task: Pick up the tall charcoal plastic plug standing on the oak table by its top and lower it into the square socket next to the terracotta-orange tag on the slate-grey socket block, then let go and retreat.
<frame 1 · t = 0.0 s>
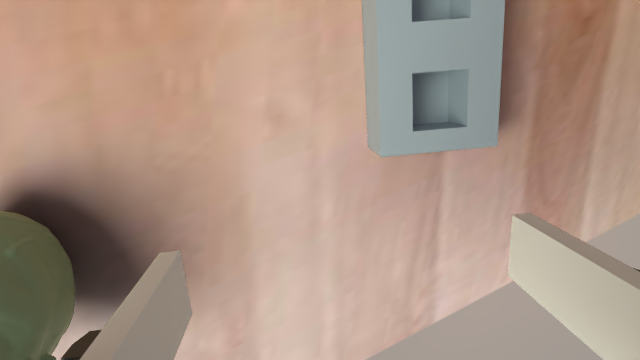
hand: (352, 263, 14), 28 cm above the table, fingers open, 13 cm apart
socket block: (418, 51, 40), on the table
cabbage: (35, 254, 42), on the table
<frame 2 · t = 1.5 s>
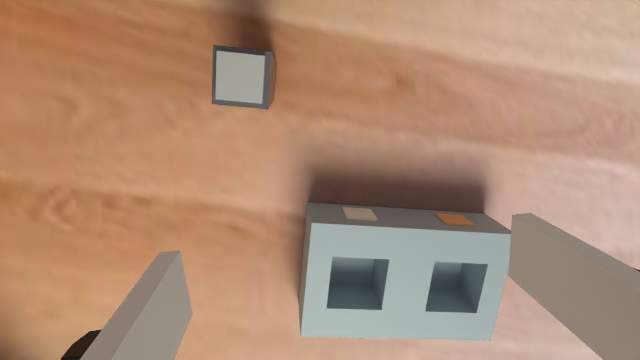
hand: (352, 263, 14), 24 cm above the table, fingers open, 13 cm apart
socket block: (390, 257, 41), on the table
plug: (256, 79, 35), on the table
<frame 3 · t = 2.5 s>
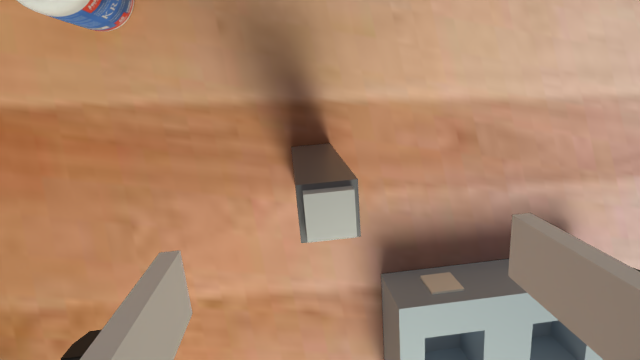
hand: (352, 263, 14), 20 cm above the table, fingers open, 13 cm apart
socket block: (474, 313, 39), on the table
plug: (312, 163, 33), on the table
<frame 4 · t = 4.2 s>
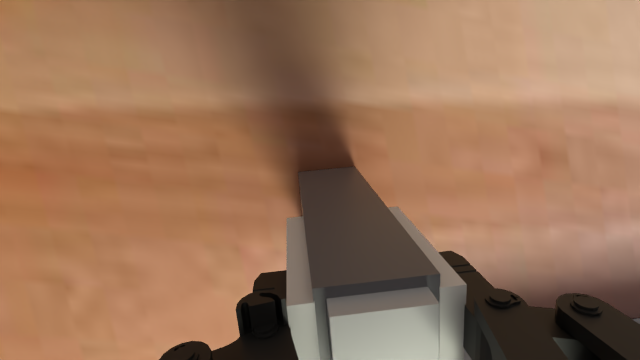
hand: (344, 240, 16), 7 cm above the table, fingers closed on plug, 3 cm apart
plug: (328, 196, 23), on the table, touching gripper
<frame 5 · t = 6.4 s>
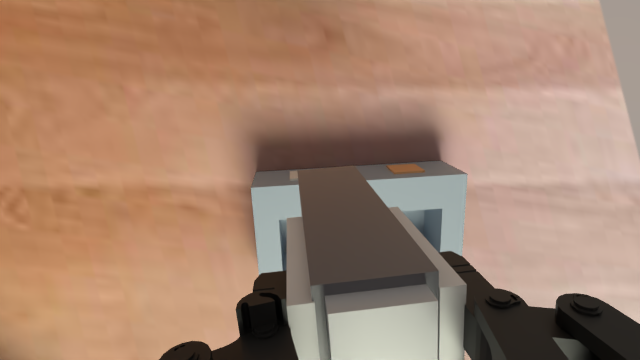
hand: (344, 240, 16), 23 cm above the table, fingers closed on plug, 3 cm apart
socket block: (351, 218, 41), on the table
plug: (327, 195, 23), point 16 cm above the table, touching gripper
when the fingers open (9 cm above the table, at t = 9.2 s): plug stays where it is, resting on socket block.
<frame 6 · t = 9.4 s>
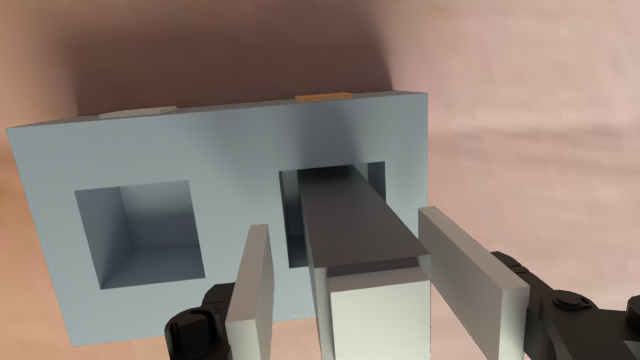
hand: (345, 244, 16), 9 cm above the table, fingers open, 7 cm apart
socket block: (251, 192, 25), on the table
plug: (325, 191, 24), point 2 cm above the table, touching socket block
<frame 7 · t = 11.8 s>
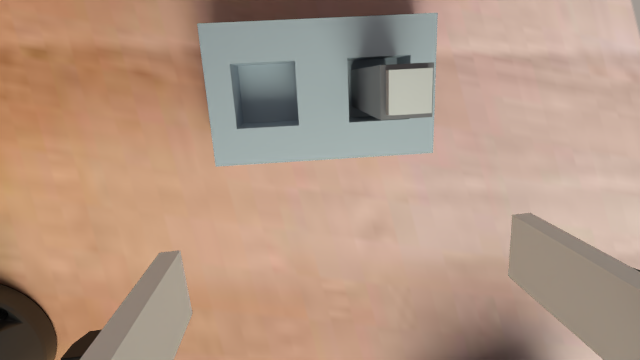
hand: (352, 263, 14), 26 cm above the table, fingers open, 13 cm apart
socket block: (318, 90, 38), on the table
plug: (368, 87, 36), point 1 cm above the table, touching socket block
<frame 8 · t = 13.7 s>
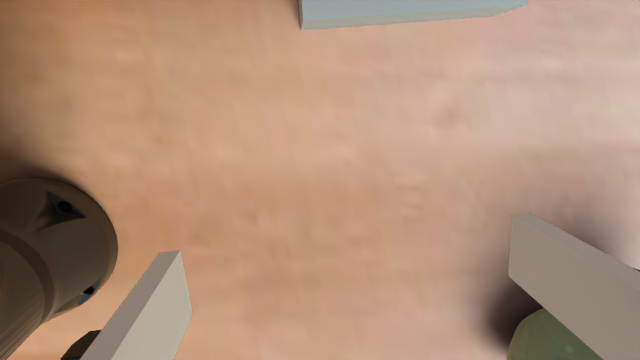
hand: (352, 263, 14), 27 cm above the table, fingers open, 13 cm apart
cabbage: (540, 325, 49), on the table
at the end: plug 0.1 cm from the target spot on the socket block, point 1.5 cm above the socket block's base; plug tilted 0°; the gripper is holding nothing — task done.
